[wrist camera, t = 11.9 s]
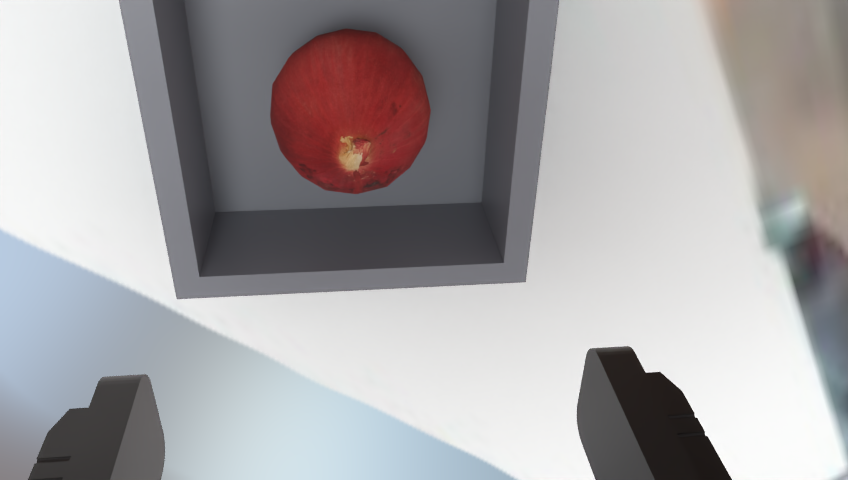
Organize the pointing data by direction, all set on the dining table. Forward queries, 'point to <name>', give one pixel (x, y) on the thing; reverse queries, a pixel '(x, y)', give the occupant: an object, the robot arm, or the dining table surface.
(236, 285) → the bin
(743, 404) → the dining table surface
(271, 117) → the onion
